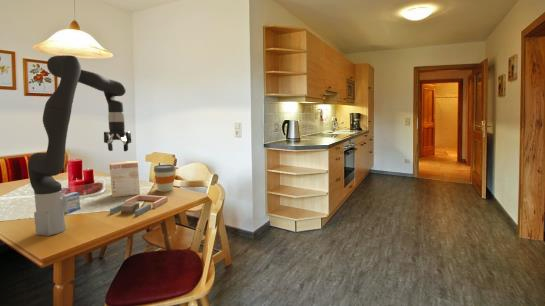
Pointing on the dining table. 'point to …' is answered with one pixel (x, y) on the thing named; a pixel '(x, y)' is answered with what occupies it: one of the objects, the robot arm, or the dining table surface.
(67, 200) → the medicine box
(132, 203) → the walnut block
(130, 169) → the coffeecake box
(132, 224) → the dining table surface
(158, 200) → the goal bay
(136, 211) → the channel
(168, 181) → the reusable coffee cup
